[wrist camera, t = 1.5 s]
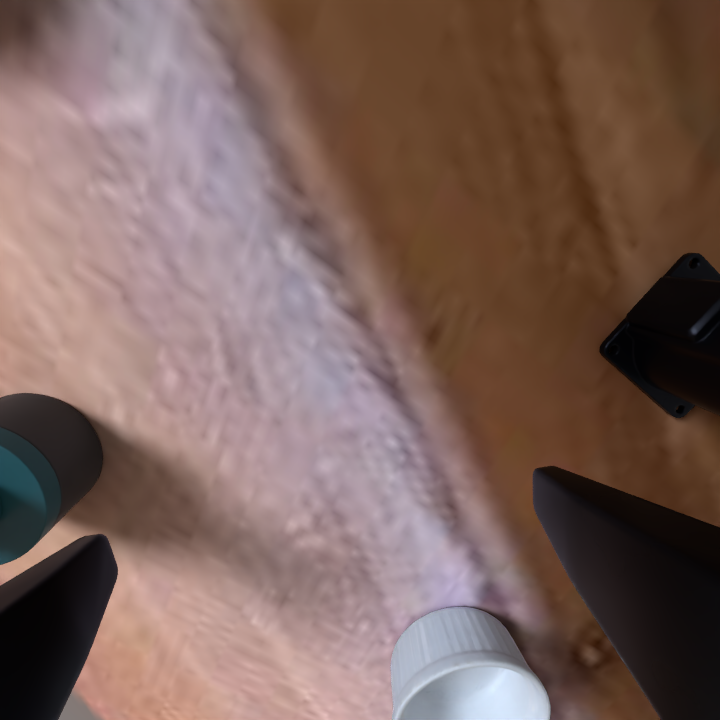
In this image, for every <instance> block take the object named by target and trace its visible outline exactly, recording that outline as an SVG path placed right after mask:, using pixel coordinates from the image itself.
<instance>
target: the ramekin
mask: <svg viewBox="0 0 720 720" xmlns="http://www.w3.org/2000/svg"><path fill="white" fill-rule="evenodd" d="M391 685H392V698H393V715H392V720H550V716H551V715H550V713H551V711H550V709H551V706H550V701H549V697H548V694H547V692H546V690H545V688H544V686H543V684H542V683H541V681H540V680H539V678H538V677H537V675H536V674H535V673H534V672H533V671H532V670H531V669H530V668H529V666H528V664H527V663H526V661H525V659H524V657H523V656H522V654H521V652H520V650H519V649H518V647H517V645H516V644H515V642H514V640H513V638H512V637H511V635H510V633H509V632H508V631H507V629H506V628H505V627H504V626H503V624H502V623H501V622H500V621H499V620H497V619H496V618H495V617H493V616H492V615H490V614H488V613H487V612H484V611H482V610H479V609H475V608H470V607H451V608H445V609H440V610H437V611H434V612H431V613H429V614H427V615H425V616H423V617H421V618H419V619H418V620H416V621H415V622H414V623H412V624H411V625H410V626H409V627H408V628H407V629H406V630H405V631H404V632H403V633H402V635H401V636H400V638H399V639H398V641H397V643H396V645H395V647H394V650H393V653H392V659H391Z"/></svg>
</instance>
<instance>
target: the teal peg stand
mask: <svg viewBox="0 0 720 720" xmlns="http://www.w3.org/2000/svg"><path fill="white" fill-rule="evenodd" d="M102 460H103V456H102V448H101V444H100V441H99V439H98V436H97V434H96V432H95V431H94V429H93V427H92V426H91V425H90V423H89V422H88V421H87V420H86V419H85V418H84V417H83V416H82V415H81V414H80V413H79V412H78V411H76V410H75V409H74V408H72V407H71V406H69V405H67V404H66V403H64V402H62V401H60V400H57V399H55V398H52V397H48V396H45V395H39V394H31V393H20V394H12V395H7V396H4V397H1V398H0V565H2V564H5V563H8V562H11V561H13V560H15V559H17V558H19V557H21V556H22V555H24V554H25V553H27V552H28V551H29V550H30V549H32V548H33V547H34V546H35V545H36V544H37V543H38V542H39V541H40V540H41V539H42V538H43V537H44V536H45V535H46V534H47V533H48V532H49V531H50V530H51V529H52V528H53V527H54V526H55V525H56V524H57V523H58V522H59V521H60V520H61V519H62V518H63V517H64V516H65V515H66V513H67V512H68V511H69V510H70V509H71V508H72V507H73V506H74V505H75V504H76V503H77V502H78V501H79V500H80V499H81V498H82V497H83V496H84V495H85V494H86V493H87V492H88V491H89V490H90V489H91V488H92V487H93V486H94V484H95V483H96V481H97V479H98V477H99V475H100V472H101V468H102Z"/></svg>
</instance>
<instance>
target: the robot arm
mask: <svg viewBox="0 0 720 720" xmlns="http://www.w3.org/2000/svg"><path fill="white" fill-rule="evenodd" d="M691 260H692V265H691V267H689V262H690V261H691ZM611 346H614V348H613V350H612V352H610V353H609V349H610V347H611ZM600 353H601V355H602V356H603V357H604V358H605V359H606V360H608V361H609V362H610V363H611V364H612V365H613V366H614V367H616V368H617V369H618V370H619V371H620V372H621V373H622V374H623V375H625V376H626V377H627V378H628V379H629V380H630V381H631V382H633V383H634V384H635V385H636V386H637V387H638V388H639V389H640V390H642V391H643V392H644V393H645V394H646V395H647V396H648V397H650V398H651V399H652V400H653V401H654V402H655V403H656V404H658V405H659V406H660V407H661V408H662V409H663V410H664V411H665V412H667V413H668V414H670V415H672V416H674V417H676V418H681V417H683V416H685V415H686V414H687V413H688V412H689V411H690V410H691V409H692V408H693V407H694V406H695V405H696V406H698V407H701V408H703V409H705V410H708V411H710V412H712V413H714V414H717V415H719V416H720V274H719V273H718V272H717V271H716V270H715V269H714V268H713V267H712V266H711V265H710V264H709V262H708V261H707V260H706V259H705V258H704V257H703V256H702V255H700V254H699V253H687V254H684V255H683V256H682V257H681V258H680V259H679V260H678V261H677V262H676V263H675V264H674V265H673V266H672V267H671V269H670V270H669V271H668V272H667V273H666V274H665V275H664V276H663V277H661V278H660V279H659V280H658V281H657V282H656V283H655V284H654V286H653V287H652V288H651V289H650V290H649V291H648V292H647V293H646V294H645V295H644V296H643V298H642V299H641V300H640V301H639V302H638V303H637V304H636V305H635V306H634V307H633V308H632V310H631V311H630V312H629V313H628V314H627V316H626V318H625V319H624V320H623V321H622V322H621V323H620V324H619V325H618V326H617V327H616V328H615V330H614V331H613V332H612V333H611V334H610V335H609V336H608V337H607V338H606V339H605V340H604V342H603V343H602V344H601V346H600ZM678 406H679V408H678V409H677V410H676V408H677V407H678ZM533 504H534V509H535V512H536V514H537V516H538V518H539V520H540V522H541V524H542V526H543V528H544V530H545V532H546V534H547V536H548V538H549V540H550V542H551V544H552V546H553V548H554V550H555V551H556V553H557V555H558V557H559V559H560V561H561V563H562V565H563V567H564V569H565V571H566V573H567V574H568V576H569V578H570V580H571V582H572V583H573V585H574V586H575V588H576V590H577V591H578V593H579V594H580V596H581V597H582V599H583V600H584V602H585V604H586V605H587V607H588V608H589V610H590V611H591V613H592V614H593V616H594V617H595V619H596V620H597V622H598V623H599V625H600V627H601V628H602V630H603V631H604V633H605V634H606V636H607V637H608V639H609V640H610V642H611V643H612V645H613V646H614V648H615V650H616V651H617V653H618V654H619V656H620V657H621V659H622V660H623V662H624V663H625V665H626V666H627V668H628V669H629V671H630V673H631V674H632V676H633V677H634V679H635V680H636V682H637V683H638V685H639V686H640V688H641V689H642V691H643V692H644V694H645V696H646V697H647V699H648V700H649V702H650V703H651V705H652V706H653V708H654V709H655V711H656V712H657V714H658V715H659V717H660V719H661V720H720V528H719V527H717V526H714V525H711V524H709V523H706V522H703V521H701V520H698V519H695V518H693V517H690V516H687V515H684V514H682V513H679V512H676V511H674V510H671V509H668V508H666V507H663V506H660V505H658V504H655V503H652V502H650V501H647V500H644V499H642V498H639V497H636V496H633V495H631V494H628V493H625V492H623V491H620V490H617V489H615V488H612V487H609V486H607V485H604V484H601V483H599V482H596V481H593V480H591V479H588V478H585V477H583V476H580V475H577V474H575V473H572V472H569V471H566V470H564V469H561V468H558V467H556V466H547V467H541V468H536V469H535V470H534V472H533ZM117 575H118V567H117V563H116V561H115V558H114V555H113V552H112V549H111V546H110V543H109V540H108V538H107V537H106V536H105V535H103V534H97V535H90V536H84V537H81V538H79V539H78V540H76V541H74V542H73V543H71V544H69V545H68V546H66V547H64V548H63V549H61V550H59V551H58V552H56V553H54V554H53V555H51V556H49V557H48V558H46V559H44V560H43V561H41V562H39V563H38V564H36V565H34V566H33V567H31V568H29V569H28V570H26V571H24V572H23V573H21V574H19V575H18V576H16V577H14V578H13V579H11V580H9V581H8V582H6V583H4V584H3V585H1V586H0V720H58V719H59V717H60V715H61V712H62V711H63V708H64V706H65V704H66V702H67V700H68V698H69V696H70V694H71V692H72V689H73V687H74V685H75V683H76V681H77V679H78V677H79V675H80V673H81V670H82V668H83V666H84V664H85V661H86V659H87V657H88V654H89V652H90V649H91V647H92V644H93V642H94V639H95V636H96V634H97V631H98V628H99V626H100V623H101V620H102V618H103V615H104V612H105V609H106V607H107V604H108V601H109V599H110V596H111V593H112V591H113V588H114V585H115V582H116V579H117Z"/></svg>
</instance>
